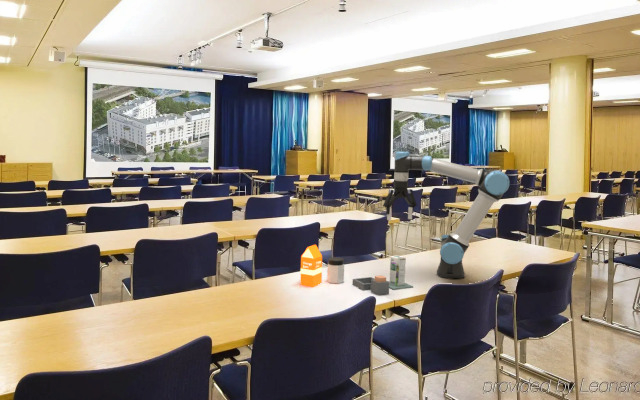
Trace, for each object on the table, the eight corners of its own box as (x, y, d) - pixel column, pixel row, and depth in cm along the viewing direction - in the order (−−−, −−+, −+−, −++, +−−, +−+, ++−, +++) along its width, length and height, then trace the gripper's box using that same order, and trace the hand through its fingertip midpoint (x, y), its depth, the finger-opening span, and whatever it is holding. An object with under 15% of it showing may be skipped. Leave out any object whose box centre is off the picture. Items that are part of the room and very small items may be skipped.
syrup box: (388, 283, 249) (389, 256, 247) (397, 282, 252) (398, 254, 250) (396, 286, 244) (397, 258, 242) (405, 284, 247) (406, 257, 246)
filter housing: (370, 282, 252) (371, 271, 252) (393, 293, 234) (393, 281, 233) (352, 284, 248) (352, 273, 247) (373, 295, 229) (373, 283, 229)
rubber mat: (399, 281, 256) (399, 280, 256) (413, 287, 245) (413, 286, 245) (380, 283, 251) (380, 282, 251) (393, 289, 240) (393, 288, 240)
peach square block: (381, 283, 237) (381, 275, 236) (385, 285, 233) (386, 277, 233) (374, 284, 235) (374, 276, 234) (378, 286, 231) (379, 278, 231)
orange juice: (321, 283, 249) (322, 245, 247) (313, 287, 241) (314, 247, 239) (308, 281, 253) (309, 243, 251) (300, 285, 245) (300, 246, 243)
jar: (324, 282, 250) (325, 259, 249) (329, 278, 258) (329, 256, 257) (341, 284, 248) (342, 261, 247) (345, 280, 256) (346, 258, 254)
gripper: (385, 181, 251) (383, 221, 253) (424, 180, 261) (422, 219, 263) (377, 180, 257) (376, 219, 260) (416, 179, 268) (414, 217, 270)
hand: (399, 219), depth 261 cm, fingers open, 13 cm apart
